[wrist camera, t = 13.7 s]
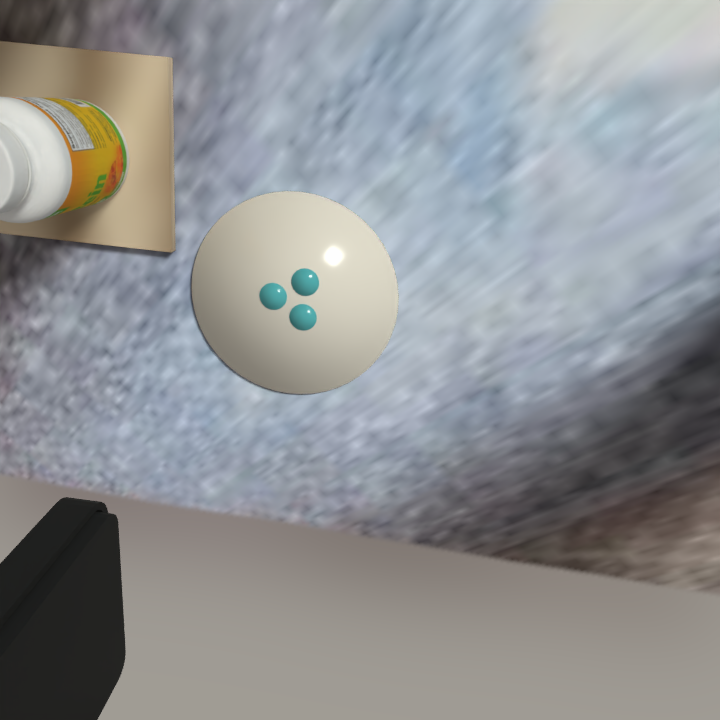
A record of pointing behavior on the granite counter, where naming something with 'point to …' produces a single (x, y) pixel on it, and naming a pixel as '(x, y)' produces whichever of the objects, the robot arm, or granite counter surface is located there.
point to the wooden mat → (138, 124)
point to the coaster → (295, 292)
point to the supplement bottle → (57, 157)
